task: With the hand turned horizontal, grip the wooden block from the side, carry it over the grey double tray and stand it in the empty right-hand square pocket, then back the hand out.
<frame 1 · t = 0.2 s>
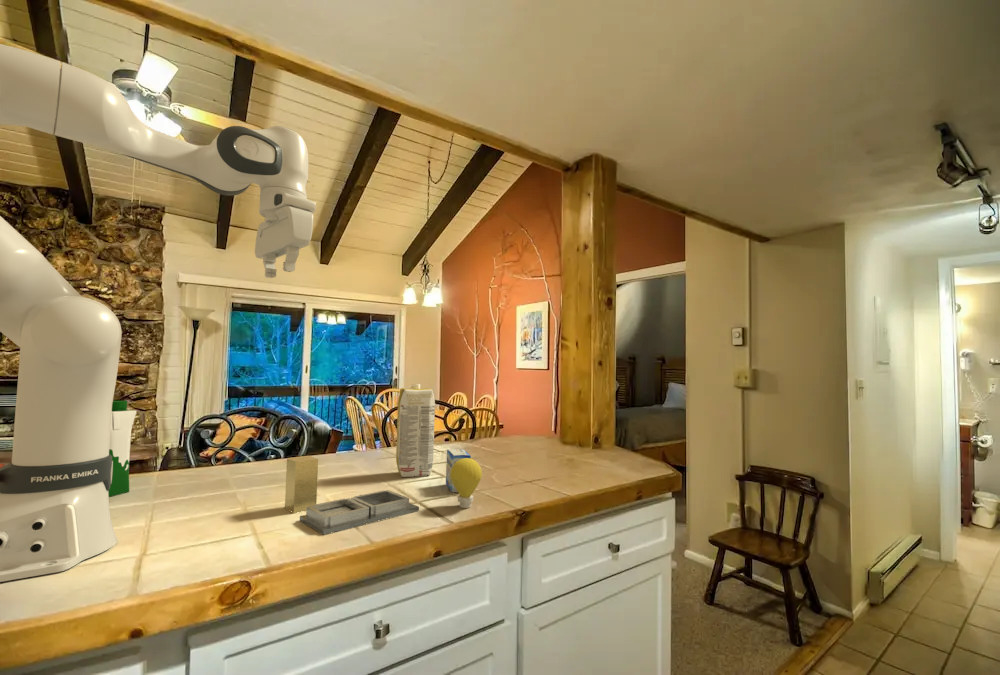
hand: (279, 274, 96), 47 cm above the counter, tool pointing down, fingers open, 8 cm apart
milk carton: (100, 495, 102), on the counter
grey double tray: (361, 515, 92), on the counter
light bulb: (465, 507, 99), on the counter
juice carton: (414, 474, 126), on the counter
medicine box: (457, 488, 113), on the counter
wooden block: (300, 508, 96), on the counter
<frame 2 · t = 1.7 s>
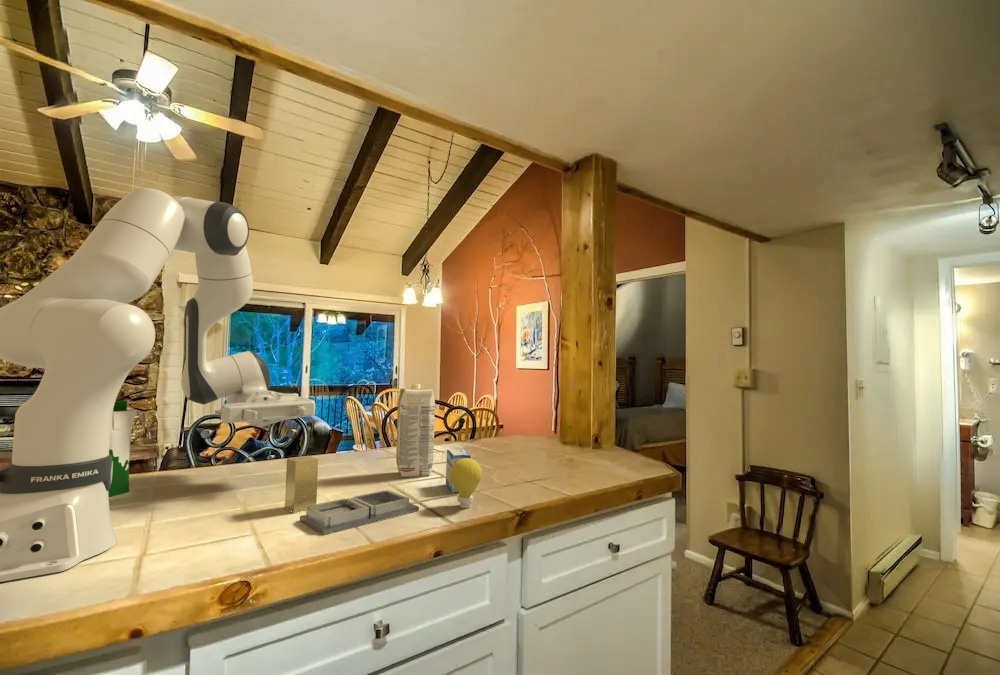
hand: (281, 414, 106), 18 cm above the counter, tool horizontal, fingers open, 8 cm apart
nothing on the counter moved.
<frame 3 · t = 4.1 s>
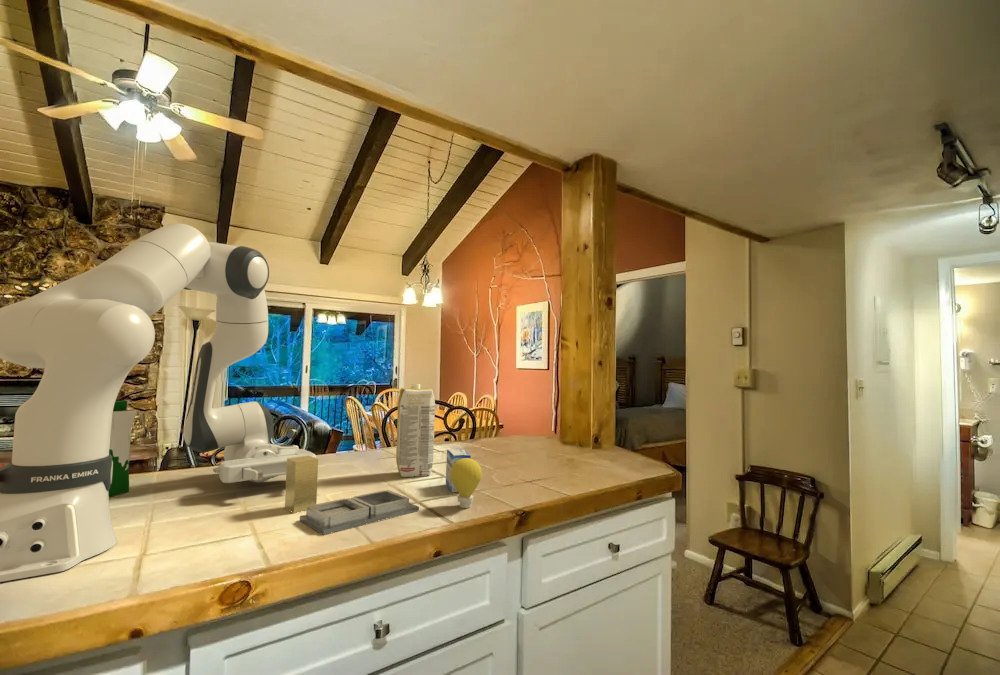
hand: (282, 472, 103), 5 cm above the counter, tool horizontal, fingers open, 8 cm apart
nothing on the counter moved.
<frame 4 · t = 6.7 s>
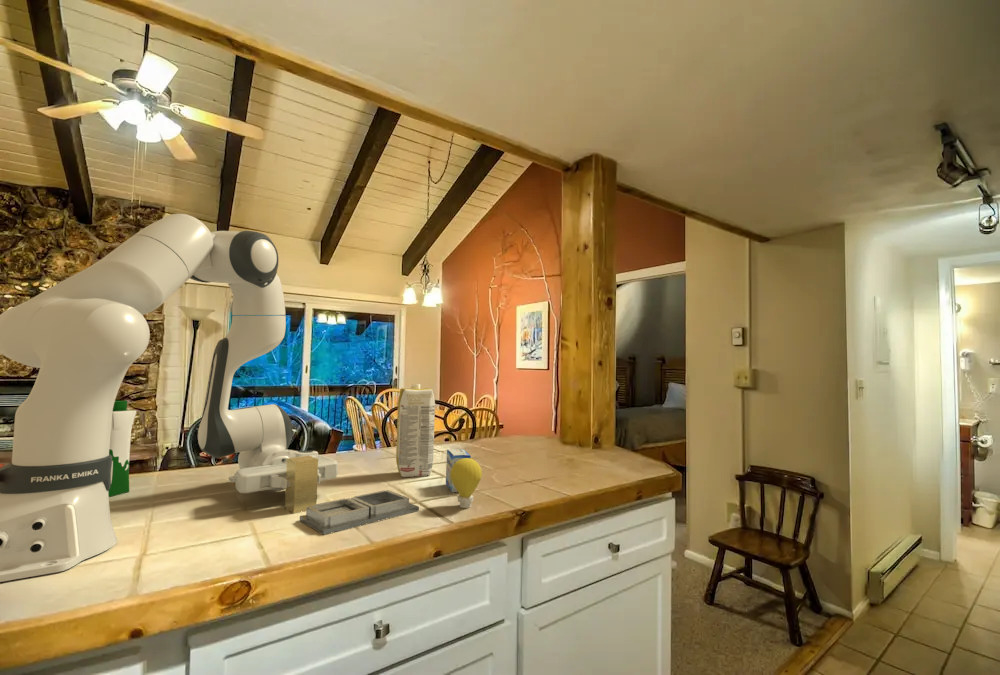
hand: (303, 481, 95), 6 cm above the counter, tool horizontal, fingers closed on wooden block, 4 cm apart
wooden block: (300, 508, 96), on the counter, touching gripper
everything else where it was.
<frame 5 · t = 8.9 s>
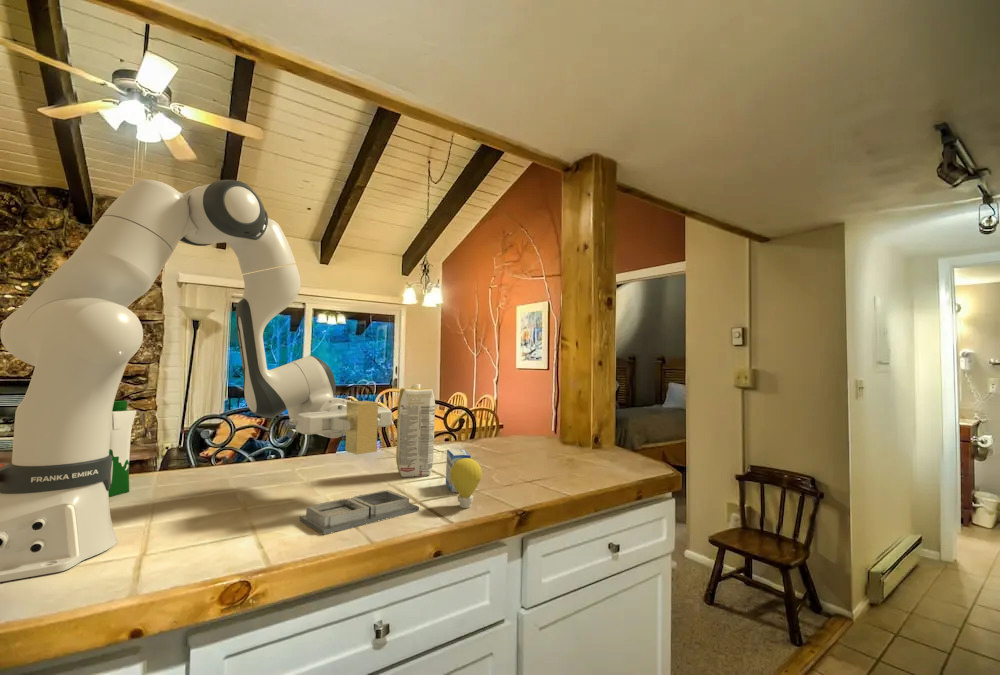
hand: (364, 424, 96), 17 cm above the counter, tool horizontal, fingers closed on wooden block, 4 cm apart
wooden block: (361, 451, 96), point 12 cm above the counter, touching gripper
everything else where it was.
when the fingers open (8 cm above the counter, at t = 11.3 s): wooden block drops 2 cm, resting on grey double tray.
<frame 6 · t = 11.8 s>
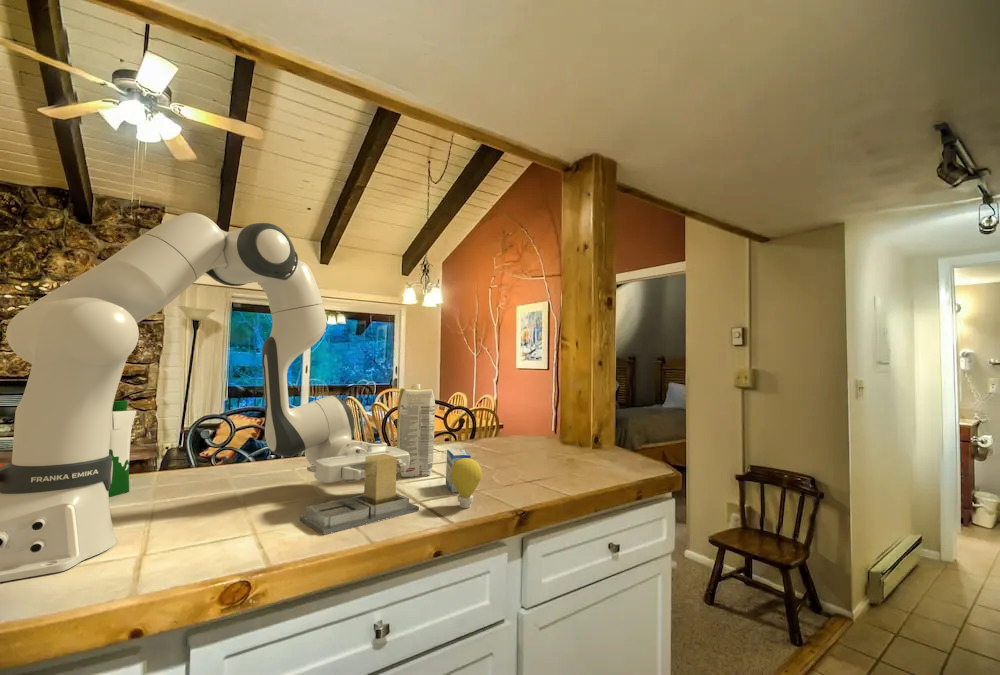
hand: (383, 471, 95), 8 cm above the counter, tool horizontal, fingers open, 8 cm apart
wooden block: (379, 507, 95), point 1 cm above the counter, touching grey double tray
everything else where it was.
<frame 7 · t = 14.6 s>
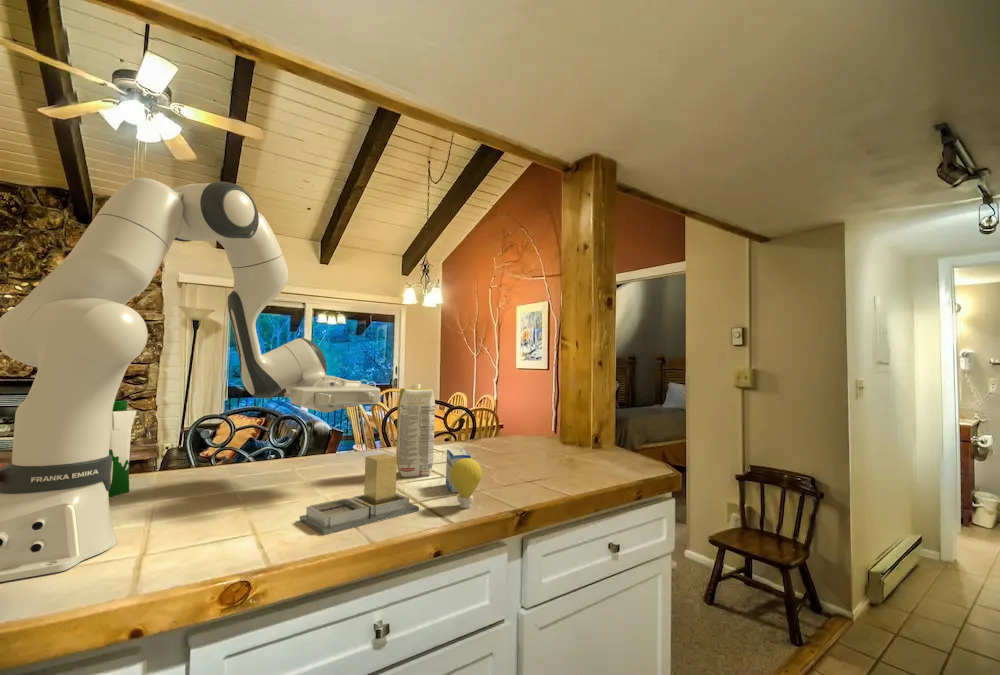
hand: (352, 398, 104), 22 cm above the counter, tool horizontal, fingers open, 8 cm apart
nothing on the counter moved.
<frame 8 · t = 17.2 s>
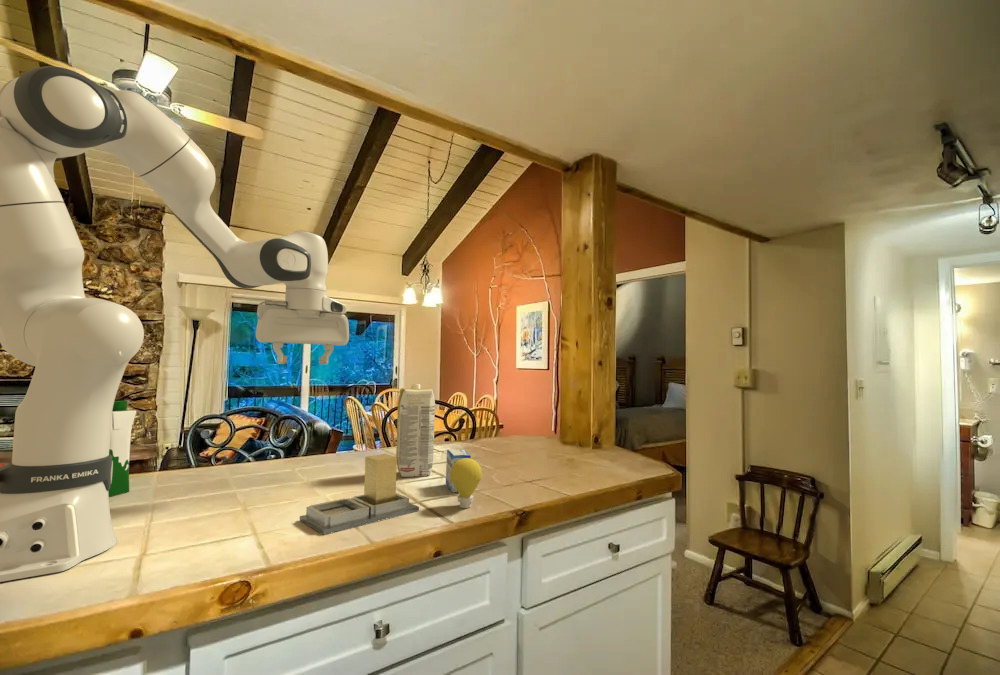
hand: (303, 364, 108), 29 cm above the counter, tool pointing down, fingers open, 8 cm apart
nothing on the counter moved.
at the end: wooden block 0.1 cm from the target spot on the grey double tray, point 0.8 cm above the grey double tray's base; wooden block tilted 0°; the gripper is holding nothing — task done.
